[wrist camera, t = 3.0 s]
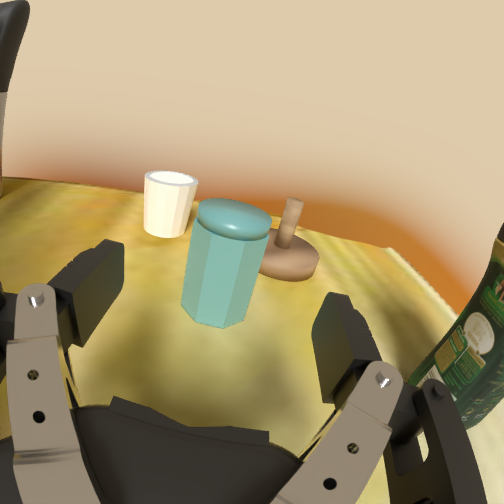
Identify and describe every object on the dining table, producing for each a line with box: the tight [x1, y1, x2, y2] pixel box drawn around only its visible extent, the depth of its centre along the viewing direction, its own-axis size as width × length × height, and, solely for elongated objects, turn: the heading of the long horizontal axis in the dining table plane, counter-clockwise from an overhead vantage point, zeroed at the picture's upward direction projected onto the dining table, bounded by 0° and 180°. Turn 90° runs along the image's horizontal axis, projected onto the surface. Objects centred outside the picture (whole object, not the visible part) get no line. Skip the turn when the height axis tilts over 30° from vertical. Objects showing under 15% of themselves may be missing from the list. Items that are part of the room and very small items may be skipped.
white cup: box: [144, 171, 198, 238], centre depth 35 cm, size 7×7×7 cm
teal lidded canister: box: [181, 198, 272, 328], centre depth 23 cm, size 6×6×9 cm
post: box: [259, 197, 319, 281], centre depth 35 cm, size 10×10×8 cm
